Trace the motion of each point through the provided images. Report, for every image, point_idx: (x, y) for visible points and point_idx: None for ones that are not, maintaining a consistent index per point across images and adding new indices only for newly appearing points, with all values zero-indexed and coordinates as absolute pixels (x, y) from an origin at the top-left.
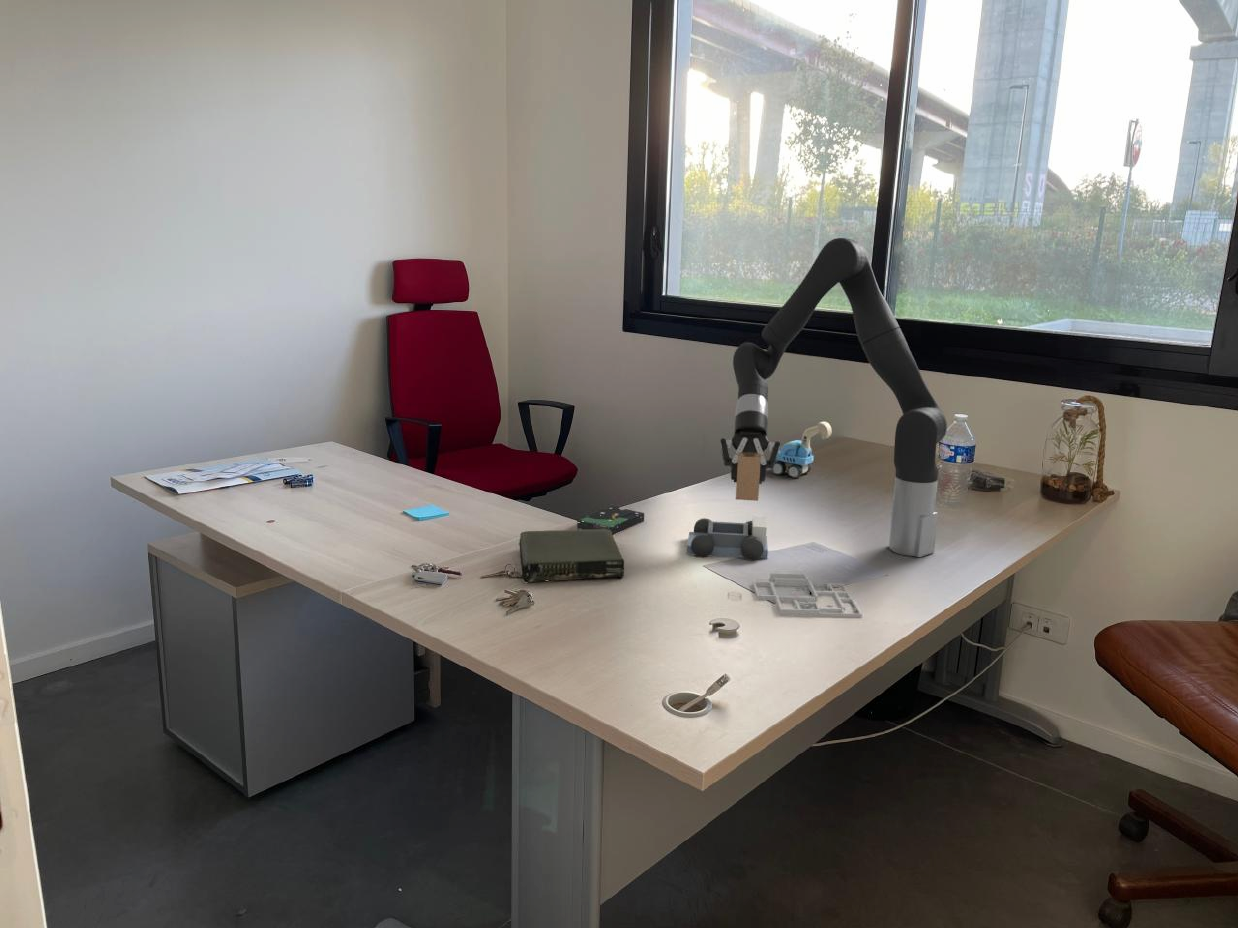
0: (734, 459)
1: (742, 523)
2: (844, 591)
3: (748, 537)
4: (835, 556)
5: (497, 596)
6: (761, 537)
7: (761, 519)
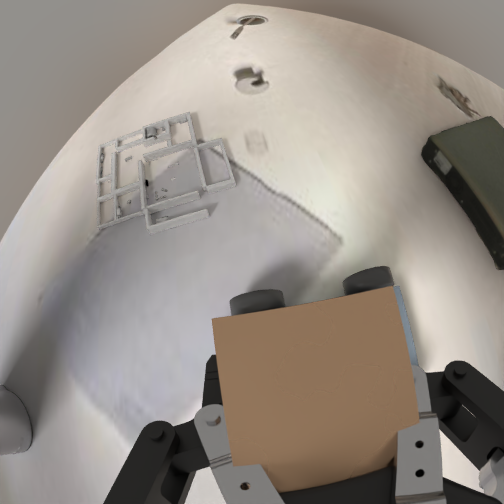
0: (416, 383)
1: None
2: (100, 199)
3: (267, 304)
4: (98, 375)
5: (473, 104)
6: None
7: None
